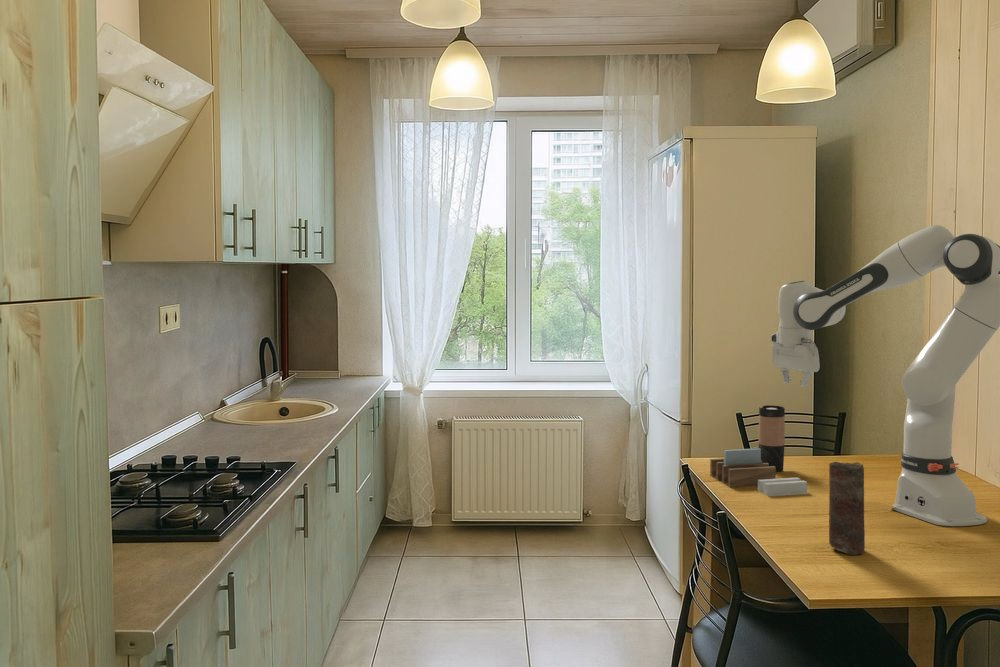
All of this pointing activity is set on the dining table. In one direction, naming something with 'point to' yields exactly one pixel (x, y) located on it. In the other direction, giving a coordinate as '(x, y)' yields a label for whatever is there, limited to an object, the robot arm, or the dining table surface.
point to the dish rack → (741, 473)
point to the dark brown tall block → (846, 507)
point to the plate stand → (782, 486)
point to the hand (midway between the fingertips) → (795, 384)
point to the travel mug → (772, 435)
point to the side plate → (742, 456)
